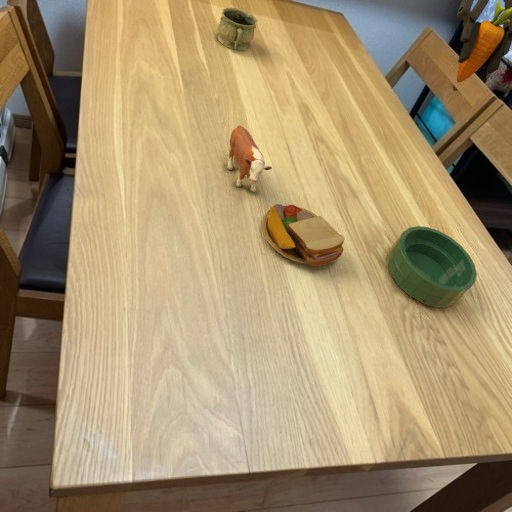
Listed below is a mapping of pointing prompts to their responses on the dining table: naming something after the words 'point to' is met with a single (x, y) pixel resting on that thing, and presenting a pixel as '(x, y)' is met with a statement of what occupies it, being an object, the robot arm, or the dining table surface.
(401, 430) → the dining table surface
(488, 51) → the carrot
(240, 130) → the bull figurine
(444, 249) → the bowl
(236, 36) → the vessel
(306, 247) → the toy sandwich meal
